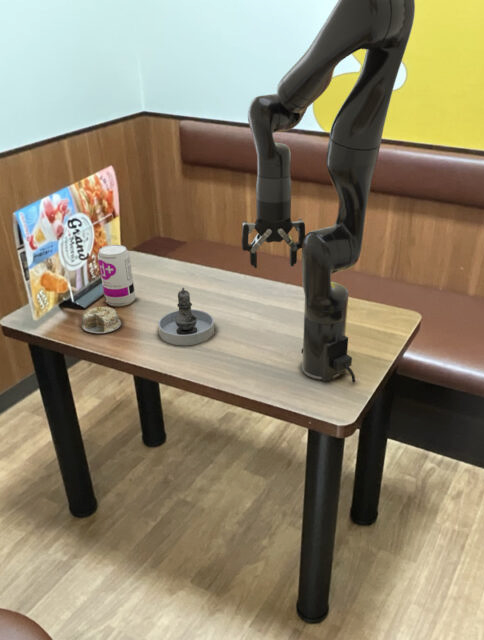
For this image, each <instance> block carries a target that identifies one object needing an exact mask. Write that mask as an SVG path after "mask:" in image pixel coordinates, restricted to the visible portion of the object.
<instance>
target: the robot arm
mask: <svg viewBox="0 0 484 640" xmlns="http://www.w3.org/2000/svg"><path fill="white" fill-rule="evenodd" d="M415 12H416V1H415V0H338V1H336V4H335V5H334V7H333V8H332V10H331V12H330V14H329V15H328V17H327V18H326V20H325V22H324V24H323V25H322V27H321V28H320V29H319V32H318V33H317V34H316V36H315V38H314V39H313V41H312V42H311V44H310V46H309V47H308V48H307V50H306V51H305V52H304V54H302V56H301V57H300V58H299V59H298V60H297V61H296V62H295V64H294V65H293V66H292V67H291V68H290V69H289V70H288V71H287V72H286V73H285V74H284V75H283V76H282V78H281V79H280V81H279V82H278V84H277V87H276V93H272V94H263V95H258V96H256V97H254V98H253V99H252V100H251V101H250V104H249V106H248V109H247V121H248V122H247V123H248V126H249V129H250V133H251V137H252V140H253V144H254V148H255V152H256V174H257V175H256V183H255V196H256V198H255V199H256V201H255V202H256V203H255V204H256V220H255V222H248V221H246V220H244V221H243V222H242V224H241V225H242V226H241V248H242V251H243V252H249V262H250V266H251V267H253V269H258V253H257V251H258V249H259V248H260V247H262V246H263V244H264V243H265V242H266V243H267V244H269V243H274V242H275V243H282V241H284V242H285V243H286V244H287V245H288V247H290V248H289V266H290V267H295V265H296V264H297V262H298V251H299V250H300V249H301V271H302V273H301V278H302V281H301V283H302V290H303V293H304V309H303V311H304V312H303V313H304V315H303V339H302V340H303V341H302V342H303V343H302V349H301V354H302V364H301V371H302V372H303V374H304V375H306V376H307V377H309V378H311V379H313V380H320V381H323V382H325V383H327V382H329V381H332V380H334V379H337V378H338V377H341V376H343V375H346V372H347V371H348V373H349V374H350V376H351V377H350V378H351V383H356V375H355V372H354V371H353V370H352V368H351V367H352V362H353V357H352V356H351V355H349V354H348V348H349V337H348V336H347V335H346V331H347V318H348V307H349V290H348V288H347V287H345V285H342V284H341V283H339V282H336V281H332V275H334V274H337V273H341V272H344V271H347V270H350V269H352V268H354V267H355V265H357V263H358V261H359V259H360V257H361V253H362V247H363V239H364V230H365V222H366V215H367V208H368V202H369V196H370V192H371V187H372V182H373V177H374V174H375V170H376V167H377V162H378V158H379V153H380V148H381V144H382V139H383V133H384V128H385V123H386V119H387V115H388V112H389V107H390V103H391V101H392V100H391V99H392V95H393V91H394V87H395V84H396V81H397V77H398V74H399V71H400V68H401V65H402V61H403V58H404V55H405V52H406V49H407V47H408V43H409V40H410V36H411V34H412V30H413V26H414V20H415V14H416V13H415ZM359 50H365V54H364V59H363V63H362V66H361V70H360V73H359V76H358V78H357V79H356V82H355V83H354V84H353V85H354V86H353V87H352V88H351V91H350V92H349V94H348V95H347V97H346V98H345V100H344V101H343V103H342V104H341V106H340V108H339V110H338V112H337V113H336V115H335V116H334V119H333V121H332V124H331V127H330V130H329V137H328V144H327V148H326V149H327V150H326V157H325V166H326V171H327V173H328V176H329V178H330V181H331V184H332V186H333V189H334V191H335V193H336V196H337V200H338V207H337V215H336V219H335V223H334V225H331V226H328V227H323V228H319V229H314V230H311V231H309V232H307V233H306V224H305V222H304V219H302V218H300V219H298V220H296V221H292V219H291V217H292V177H291V166H292V165H291V164H292V163H291V162H292V161H291V159H292V157H291V156H292V155H291V149H290V147H289V146H288V145H287V144H284V143H280V142H276V141H275V138H274V133H281V132H286V131H290V130H292V129H294V128H295V127H296V126H298V125H299V124H300V122H301V121H302V119H303V117H304V116H305V114H306V112H307V110H308V108H309V107H310V106H311V105H313V103H314V102H316V100H318V99H319V98H320V97H321V96H322V95H323V94H324V93H325V92H326V90H327V89H328V88H329V87H330V84H331V83H332V80H333V78H334V72H335V69H336V67H337V66H338V65H339V64H340V62H342V61H343V60H344V59H346V58H348V57H349V56H350V55H352V54H354V53H356V52H358V51H359ZM293 228H294V229H295V231H296V232H297V236H298V237H297V238H298V239H297V240H298V241H296V242H295V241H294V240H293V238H292V237H291V235H290V234H289V233H290V232H291V231H292V229H293ZM253 230H255V231H256V232H257V234H256V235H255V237H254V239H253V241H252V242H251V243H249V236H250V235H249V234H251V233H252V232H253Z"/></svg>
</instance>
